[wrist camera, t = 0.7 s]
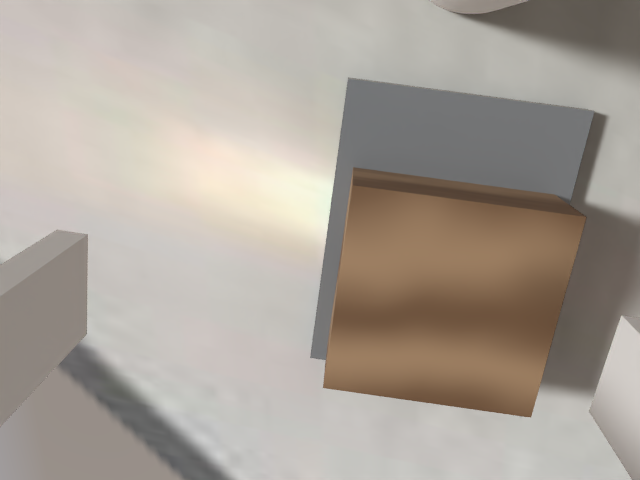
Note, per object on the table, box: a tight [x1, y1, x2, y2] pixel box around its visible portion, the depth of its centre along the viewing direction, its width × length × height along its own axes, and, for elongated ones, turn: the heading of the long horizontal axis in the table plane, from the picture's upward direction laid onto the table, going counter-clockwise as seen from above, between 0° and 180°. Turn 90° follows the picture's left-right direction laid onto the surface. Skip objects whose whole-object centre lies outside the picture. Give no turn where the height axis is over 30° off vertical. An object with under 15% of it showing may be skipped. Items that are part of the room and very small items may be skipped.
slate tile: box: [310, 78, 594, 360], centre depth 36 cm, size 18×14×1 cm
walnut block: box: [323, 167, 586, 417], centre depth 34 cm, size 12×12×5 cm
